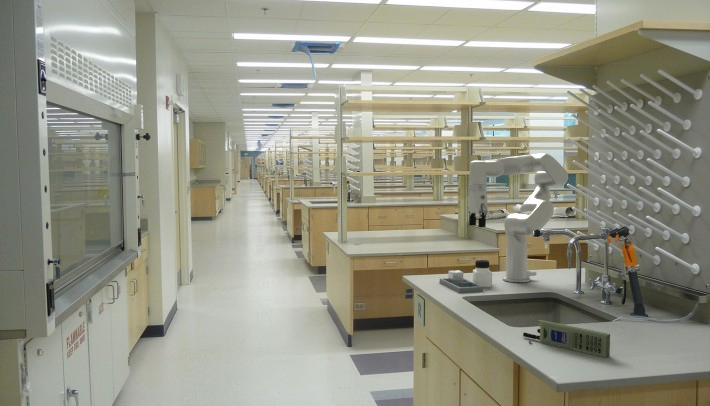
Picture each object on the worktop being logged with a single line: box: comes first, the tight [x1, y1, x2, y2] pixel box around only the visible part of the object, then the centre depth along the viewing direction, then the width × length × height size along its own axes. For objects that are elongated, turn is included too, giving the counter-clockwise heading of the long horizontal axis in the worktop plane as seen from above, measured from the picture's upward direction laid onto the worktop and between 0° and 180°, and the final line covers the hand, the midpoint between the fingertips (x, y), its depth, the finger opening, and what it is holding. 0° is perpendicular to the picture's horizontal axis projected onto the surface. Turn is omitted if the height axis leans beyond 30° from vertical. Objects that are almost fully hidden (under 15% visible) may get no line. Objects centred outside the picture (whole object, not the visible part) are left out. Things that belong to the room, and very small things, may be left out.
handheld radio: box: [522, 319, 611, 359], centre depth 152 cm, size 7×3×25 cm
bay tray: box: [439, 277, 484, 294], centre depth 231 cm, size 11×21×3 cm, turn 14°
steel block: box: [447, 269, 464, 283], centre depth 236 cm, size 5×5×6 cm
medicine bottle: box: [472, 259, 493, 288], centre depth 234 cm, size 7×7×12 cm
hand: (477, 226), depth 235 cm, fingers open, 9 cm apart
